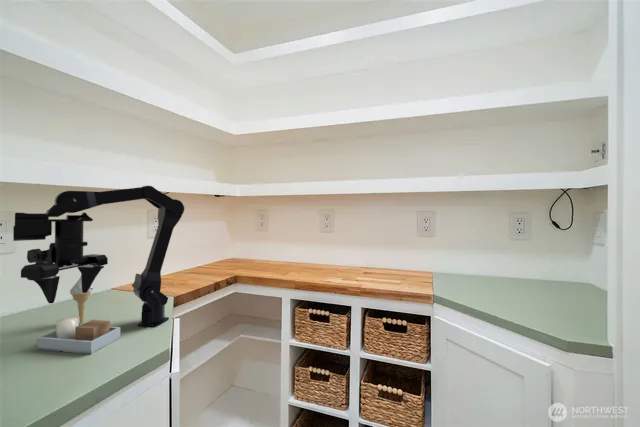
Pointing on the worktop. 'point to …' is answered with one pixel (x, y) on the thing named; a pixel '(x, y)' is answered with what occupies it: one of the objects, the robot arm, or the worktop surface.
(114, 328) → the grey blue tray
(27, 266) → the robot arm
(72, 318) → the cream cylinder
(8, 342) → the worktop surface
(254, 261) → the worktop surface
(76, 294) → the ice cream cone
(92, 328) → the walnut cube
